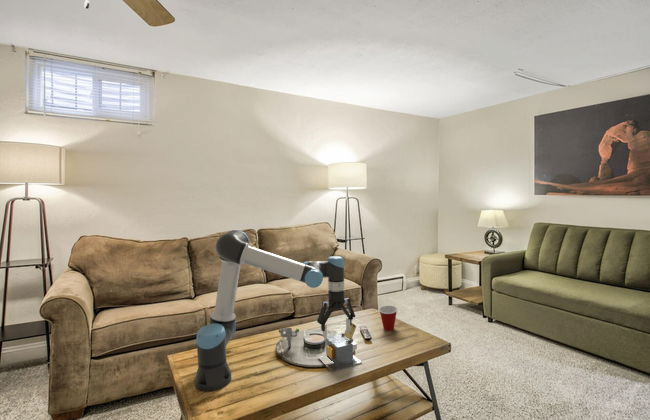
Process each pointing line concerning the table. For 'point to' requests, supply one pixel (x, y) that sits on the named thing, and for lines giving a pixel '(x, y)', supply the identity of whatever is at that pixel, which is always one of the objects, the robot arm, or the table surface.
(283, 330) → the mechanical component
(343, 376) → the table surface
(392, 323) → the plastic cup
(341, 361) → the grey boxy piece
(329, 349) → the lynch pin
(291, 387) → the table surface
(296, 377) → the table surface
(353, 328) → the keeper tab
